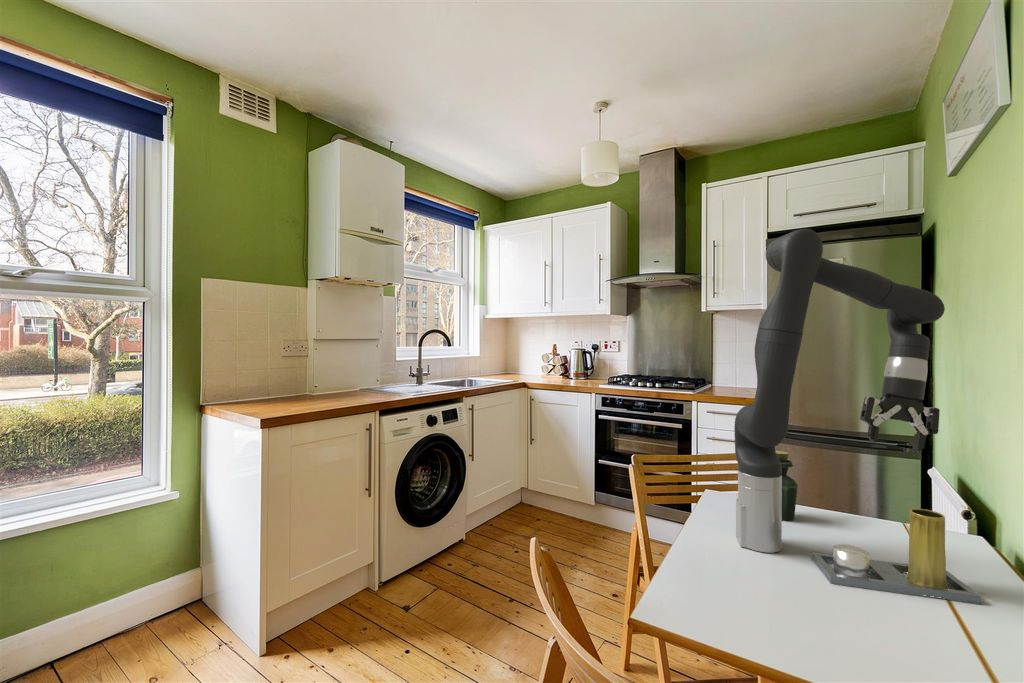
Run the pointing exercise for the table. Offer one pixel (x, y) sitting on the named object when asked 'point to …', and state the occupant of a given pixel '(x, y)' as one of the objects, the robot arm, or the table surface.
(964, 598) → the grey rectangular frame
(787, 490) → the potion bottle
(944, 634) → the table surface
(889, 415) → the robot arm
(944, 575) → the vase
